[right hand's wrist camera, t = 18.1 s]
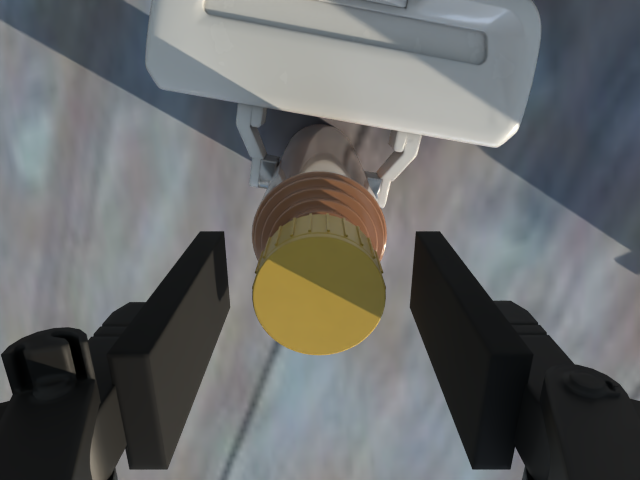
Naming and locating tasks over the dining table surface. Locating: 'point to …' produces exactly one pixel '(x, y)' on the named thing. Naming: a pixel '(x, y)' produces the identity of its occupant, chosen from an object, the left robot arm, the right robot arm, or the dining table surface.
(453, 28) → the left robot arm
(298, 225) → the cap
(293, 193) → the bottle
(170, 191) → the dining table surface
